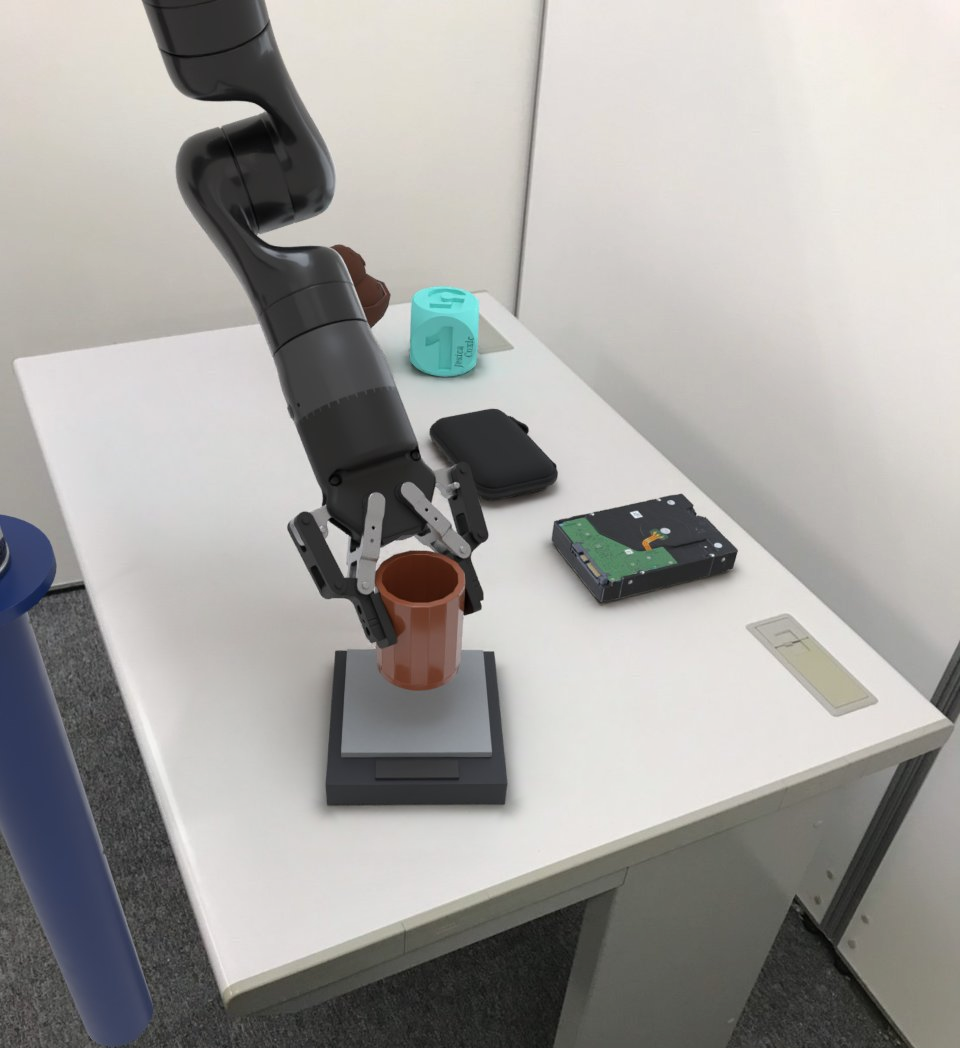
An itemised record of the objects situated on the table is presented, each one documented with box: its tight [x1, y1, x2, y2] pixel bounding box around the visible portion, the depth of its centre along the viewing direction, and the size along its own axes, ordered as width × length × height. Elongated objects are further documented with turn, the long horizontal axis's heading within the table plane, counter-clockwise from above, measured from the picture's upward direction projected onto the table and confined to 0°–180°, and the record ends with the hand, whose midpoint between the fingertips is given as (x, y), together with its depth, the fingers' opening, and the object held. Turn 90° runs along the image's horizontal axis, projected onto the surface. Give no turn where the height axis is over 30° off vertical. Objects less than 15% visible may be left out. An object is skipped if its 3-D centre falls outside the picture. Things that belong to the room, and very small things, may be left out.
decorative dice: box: [409, 285, 480, 378], centre depth 122 cm, size 8×8×8 cm
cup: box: [374, 549, 465, 691], centre depth 72 cm, size 6×6×8 cm
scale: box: [325, 648, 508, 807], centre depth 77 cm, size 13×14×3 cm
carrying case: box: [428, 408, 559, 502], centre depth 107 cm, size 11×3×15 cm
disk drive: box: [551, 493, 739, 603], centre depth 96 cm, size 10×3×15 cm
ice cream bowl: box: [329, 244, 391, 329], centre depth 117 cm, size 11×11×15 cm
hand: (431, 628), depth 70 cm, fingers closed on cup, 6 cm apart
